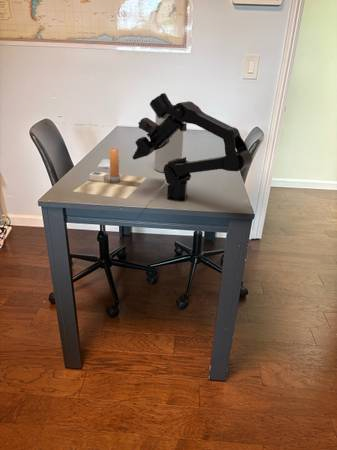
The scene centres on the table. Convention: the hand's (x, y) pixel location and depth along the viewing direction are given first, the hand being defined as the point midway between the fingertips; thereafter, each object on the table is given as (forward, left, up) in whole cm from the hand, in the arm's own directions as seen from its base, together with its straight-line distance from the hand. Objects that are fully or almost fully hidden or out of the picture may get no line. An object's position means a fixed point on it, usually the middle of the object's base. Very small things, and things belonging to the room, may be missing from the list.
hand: (139, 155), depth 127 cm
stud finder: (+18, -1, -12) cm, 21 cm away
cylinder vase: (-4, -29, -14) cm, 32 cm away
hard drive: (+24, -25, -14) cm, 37 cm away
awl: (+10, -1, -12) cm, 16 cm away
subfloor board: (+11, +2, -14) cm, 17 cm away
